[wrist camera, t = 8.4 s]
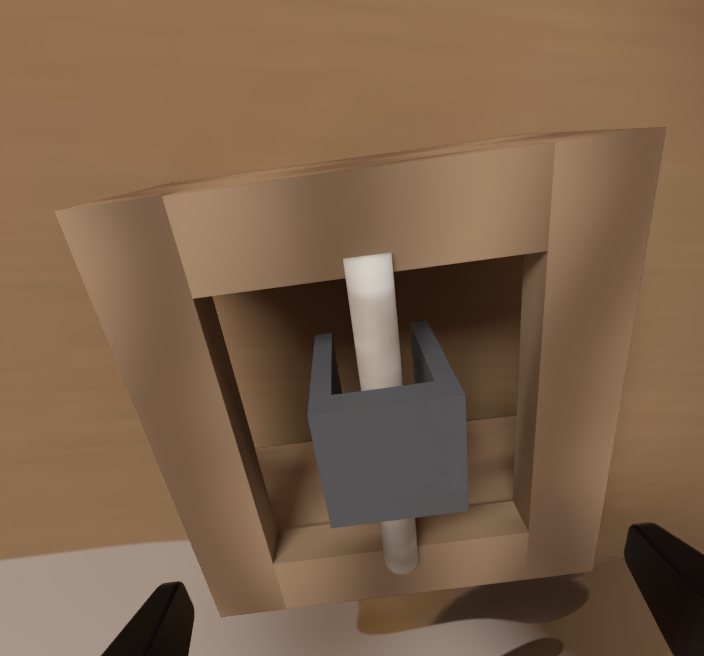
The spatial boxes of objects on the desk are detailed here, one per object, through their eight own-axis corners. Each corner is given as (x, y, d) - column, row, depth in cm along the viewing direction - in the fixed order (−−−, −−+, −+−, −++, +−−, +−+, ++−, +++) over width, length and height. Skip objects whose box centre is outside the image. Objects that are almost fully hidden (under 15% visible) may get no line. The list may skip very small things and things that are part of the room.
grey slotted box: (426, 319, 15) (465, 395, 10) (432, 412, 16) (468, 510, 12) (314, 335, 15) (306, 416, 10) (331, 425, 16) (330, 528, 12)
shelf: (531, 133, 16) (687, 125, 9) (516, 446, 22) (601, 587, 15) (166, 183, 16) (37, 215, 9) (253, 479, 22) (216, 634, 15)
